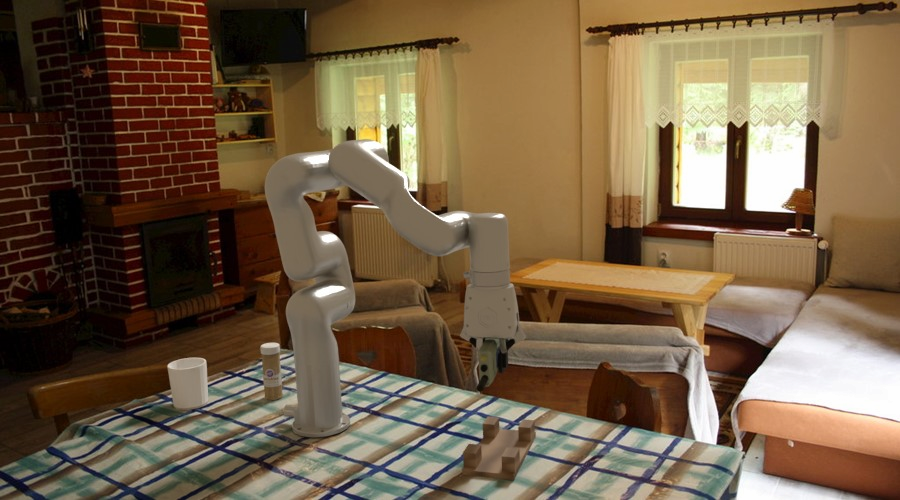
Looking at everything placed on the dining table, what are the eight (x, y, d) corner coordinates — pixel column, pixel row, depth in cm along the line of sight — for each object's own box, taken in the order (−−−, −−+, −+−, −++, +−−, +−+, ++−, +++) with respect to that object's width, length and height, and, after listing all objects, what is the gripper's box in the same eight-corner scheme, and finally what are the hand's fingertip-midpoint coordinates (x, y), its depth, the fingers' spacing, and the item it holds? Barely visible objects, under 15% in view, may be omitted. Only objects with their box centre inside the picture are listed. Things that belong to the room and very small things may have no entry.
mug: (218, 401, 191) (214, 360, 189) (188, 413, 183) (184, 371, 182) (188, 393, 197) (184, 354, 195) (158, 405, 189) (153, 365, 187)
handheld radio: (508, 353, 164) (489, 395, 140) (493, 353, 165) (471, 395, 141) (507, 322, 163) (487, 360, 139) (491, 322, 164) (469, 359, 140)
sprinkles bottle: (264, 401, 189) (260, 348, 187) (264, 395, 193) (260, 343, 191) (283, 399, 190) (279, 346, 188) (283, 393, 194) (279, 341, 192)
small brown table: (462, 474, 147) (461, 454, 146) (489, 432, 166) (488, 414, 165) (513, 480, 144) (513, 459, 143) (535, 436, 163) (535, 418, 162)
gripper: (443, 281, 148) (448, 374, 151) (527, 283, 143) (530, 379, 146) (455, 273, 155) (459, 362, 158) (536, 274, 150) (538, 366, 153)
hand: (493, 369), depth 152 cm, fingers closed on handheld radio, 2 cm apart
